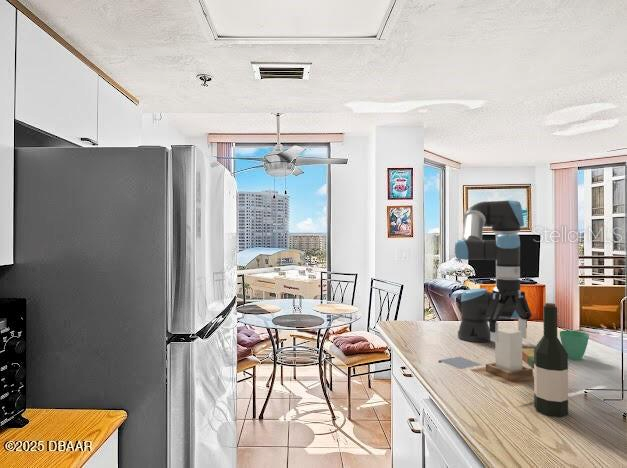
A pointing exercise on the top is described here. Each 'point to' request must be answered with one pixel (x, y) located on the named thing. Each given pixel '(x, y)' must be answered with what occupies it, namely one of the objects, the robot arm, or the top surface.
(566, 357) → the wine bottle
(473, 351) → the top surface
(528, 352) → the carton
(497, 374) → the pocket tray
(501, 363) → the cream block
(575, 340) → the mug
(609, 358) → the top surface
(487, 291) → the robot arm
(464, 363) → the slate mat
